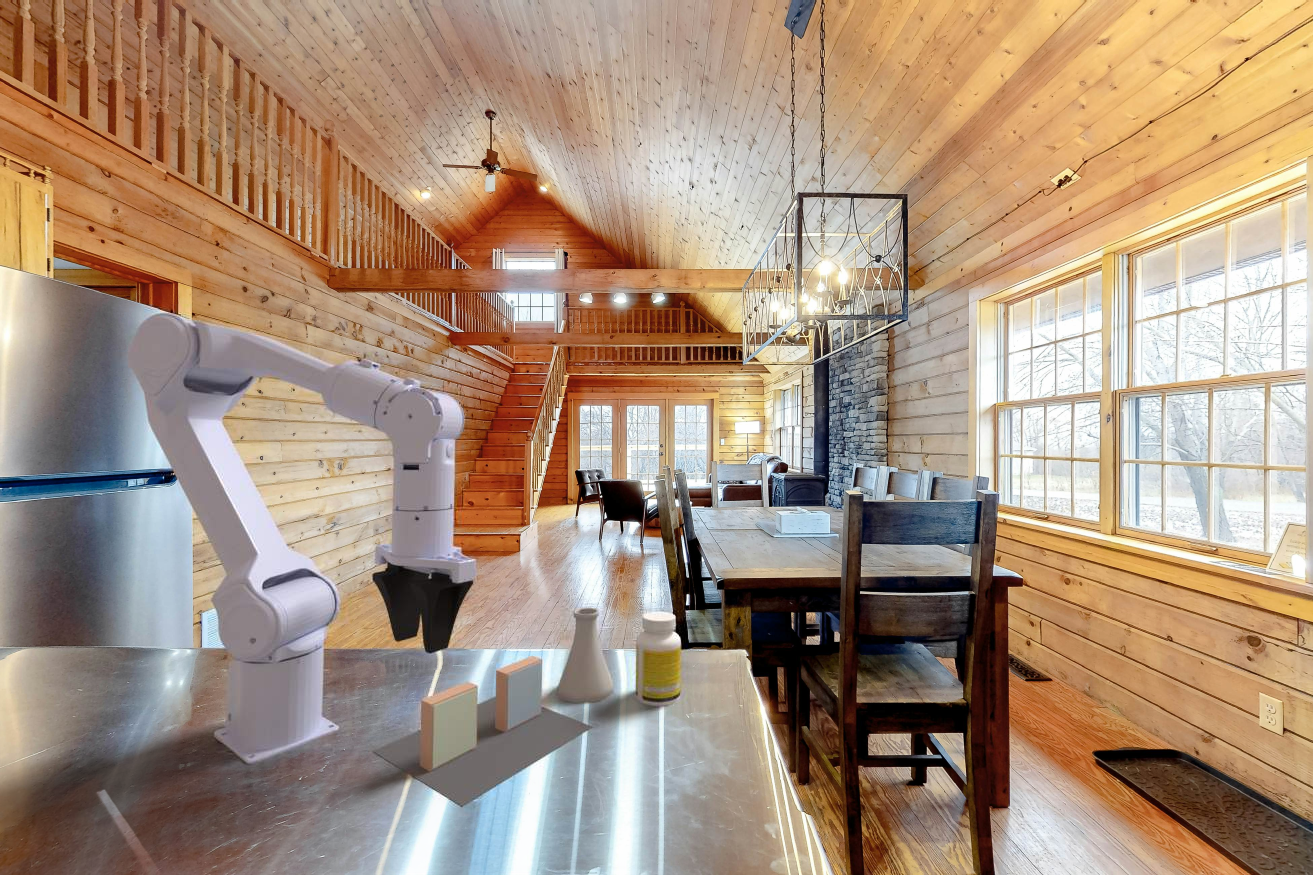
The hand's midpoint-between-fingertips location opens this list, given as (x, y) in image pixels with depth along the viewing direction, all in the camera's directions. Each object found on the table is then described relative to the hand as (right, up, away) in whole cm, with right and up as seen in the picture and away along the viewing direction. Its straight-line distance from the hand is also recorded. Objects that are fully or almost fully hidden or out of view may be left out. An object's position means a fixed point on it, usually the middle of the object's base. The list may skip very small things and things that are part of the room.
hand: (420, 644), depth 55 cm
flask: (+15, -11, +12) cm, 22 cm away
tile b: (+9, -10, +4) cm, 14 cm away
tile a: (+4, -10, -3) cm, 11 cm away
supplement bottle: (+24, -11, +10) cm, 28 cm away
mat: (+7, -10, 0) cm, 12 cm away
